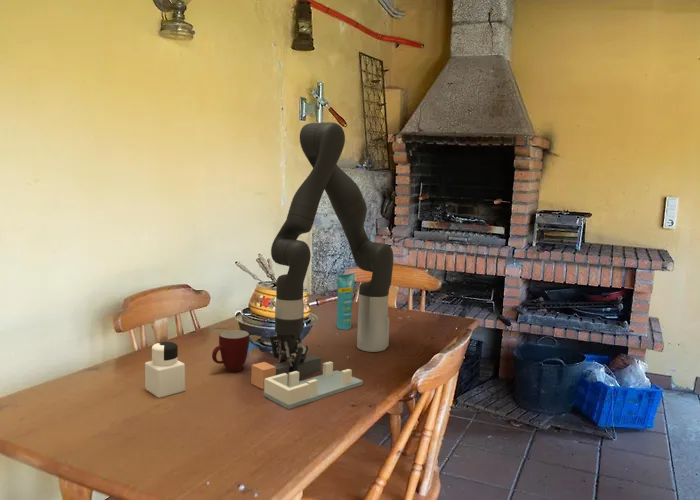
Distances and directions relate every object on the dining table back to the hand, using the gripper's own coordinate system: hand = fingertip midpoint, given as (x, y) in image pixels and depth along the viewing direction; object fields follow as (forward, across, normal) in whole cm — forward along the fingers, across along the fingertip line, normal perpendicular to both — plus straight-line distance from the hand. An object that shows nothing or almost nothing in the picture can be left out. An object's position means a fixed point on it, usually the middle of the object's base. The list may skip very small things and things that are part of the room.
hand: (288, 376), depth 158 cm
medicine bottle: (0, +12, +29) cm, 31 cm away
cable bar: (0, 0, 0) cm, 0 cm away
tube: (0, +25, -44) cm, 51 cm away
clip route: (0, -11, 0) cm, 11 cm away
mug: (0, +14, +9) cm, 17 cm away
